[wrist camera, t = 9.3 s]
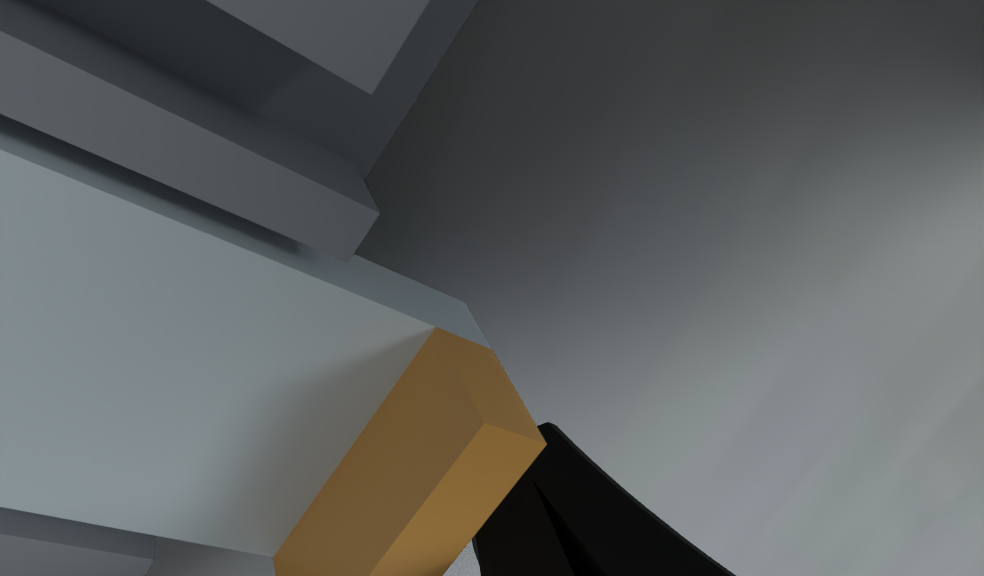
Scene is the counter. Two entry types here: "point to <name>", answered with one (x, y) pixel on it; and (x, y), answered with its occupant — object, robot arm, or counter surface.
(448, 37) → the housing
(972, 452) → the counter surface
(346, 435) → the lid
